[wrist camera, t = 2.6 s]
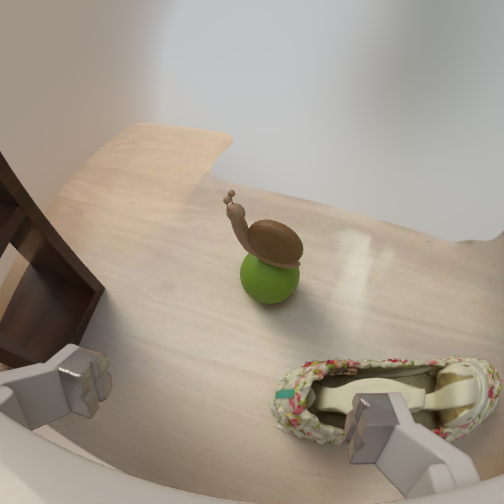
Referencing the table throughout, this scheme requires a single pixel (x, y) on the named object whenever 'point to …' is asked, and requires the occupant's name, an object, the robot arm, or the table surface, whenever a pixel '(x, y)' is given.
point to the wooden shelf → (41, 282)
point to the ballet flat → (382, 381)
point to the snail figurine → (266, 256)
